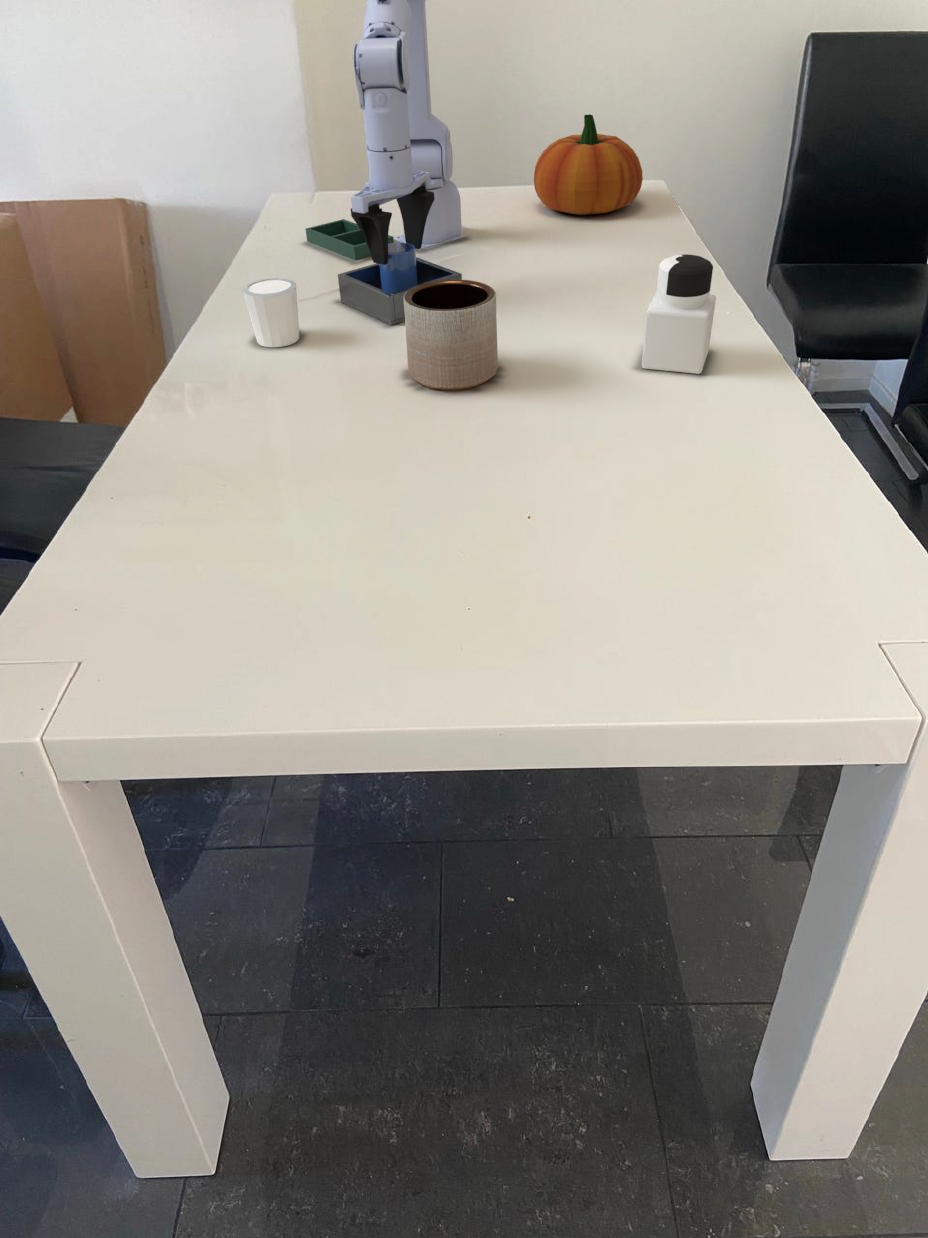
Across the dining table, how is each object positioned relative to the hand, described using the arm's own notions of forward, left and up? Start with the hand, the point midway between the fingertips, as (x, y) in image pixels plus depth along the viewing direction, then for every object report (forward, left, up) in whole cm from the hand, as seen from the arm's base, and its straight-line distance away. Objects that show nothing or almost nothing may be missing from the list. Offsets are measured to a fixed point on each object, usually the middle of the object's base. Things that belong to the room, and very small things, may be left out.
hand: (397, 255), depth 125 cm
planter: (+10, +25, -7) cm, 27 cm away
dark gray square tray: (0, 0, -6) cm, 6 cm away
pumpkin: (-53, -15, -7) cm, 56 cm away
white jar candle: (+20, 0, -7) cm, 21 cm away
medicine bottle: (-12, +41, -7) cm, 43 cm away
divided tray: (-9, -27, -7) cm, 29 cm away
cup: (0, 0, -6) cm, 6 cm away
